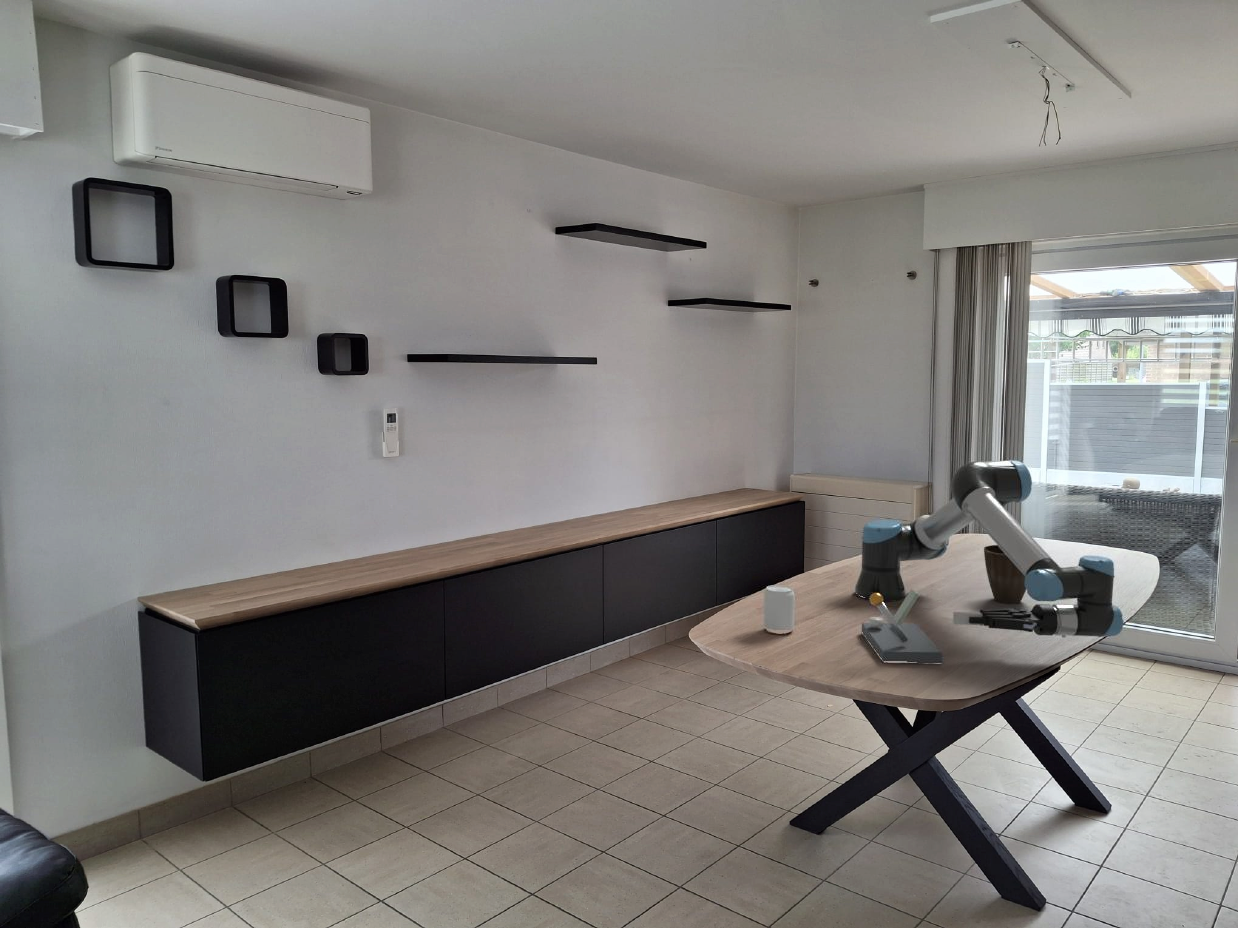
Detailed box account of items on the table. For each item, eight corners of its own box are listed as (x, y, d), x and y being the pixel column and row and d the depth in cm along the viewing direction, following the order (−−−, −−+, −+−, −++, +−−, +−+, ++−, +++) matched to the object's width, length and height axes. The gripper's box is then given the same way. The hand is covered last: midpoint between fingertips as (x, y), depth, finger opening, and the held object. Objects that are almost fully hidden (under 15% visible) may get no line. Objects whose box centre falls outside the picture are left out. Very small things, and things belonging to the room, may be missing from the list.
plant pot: (1040, 608, 261) (1042, 555, 259) (986, 605, 264) (989, 553, 262) (1027, 595, 275) (1029, 545, 274) (977, 593, 278) (979, 543, 277)
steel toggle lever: (897, 641, 219) (865, 596, 218) (908, 634, 218) (876, 588, 217) (901, 645, 215) (868, 599, 215) (912, 638, 215) (879, 592, 214)
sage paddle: (891, 620, 233) (911, 588, 232) (894, 622, 233) (914, 590, 232) (895, 625, 228) (916, 592, 227) (898, 627, 228) (919, 594, 227)
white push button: (867, 623, 233) (867, 616, 233) (880, 623, 233) (881, 616, 232) (870, 627, 229) (870, 620, 229) (884, 627, 229) (884, 620, 229)
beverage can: (789, 626, 243) (790, 584, 241) (796, 635, 235) (797, 591, 233) (761, 626, 242) (761, 584, 241) (766, 635, 234) (767, 592, 233)
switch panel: (861, 633, 237) (861, 622, 236) (914, 634, 236) (914, 623, 235) (883, 663, 213) (883, 651, 212) (941, 664, 212) (942, 652, 212)
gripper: (1063, 643, 208) (962, 641, 209) (1040, 626, 221) (945, 625, 222) (1065, 612, 207) (963, 610, 209) (1042, 597, 220) (946, 596, 222)
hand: (954, 618), depth 216 cm, fingers closed
